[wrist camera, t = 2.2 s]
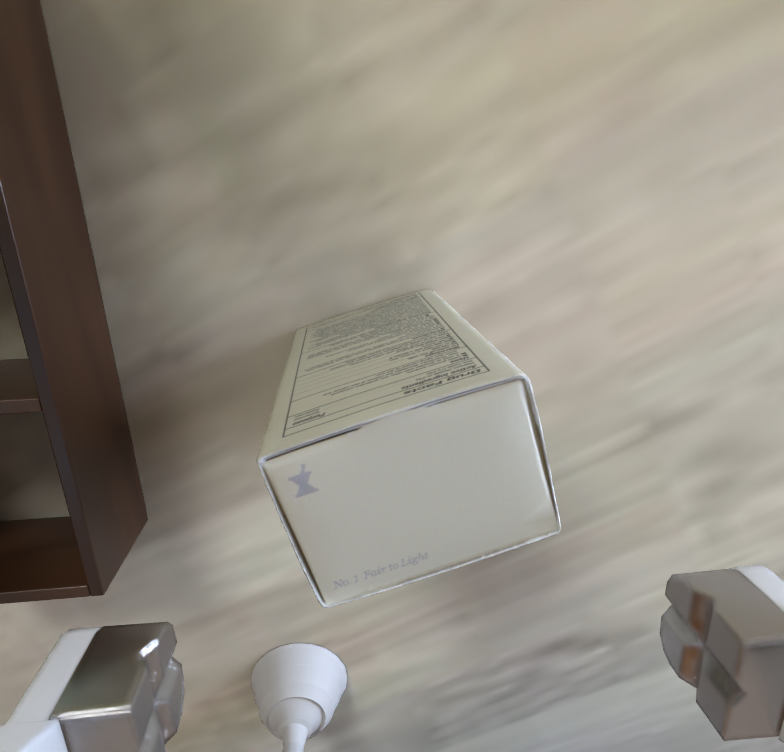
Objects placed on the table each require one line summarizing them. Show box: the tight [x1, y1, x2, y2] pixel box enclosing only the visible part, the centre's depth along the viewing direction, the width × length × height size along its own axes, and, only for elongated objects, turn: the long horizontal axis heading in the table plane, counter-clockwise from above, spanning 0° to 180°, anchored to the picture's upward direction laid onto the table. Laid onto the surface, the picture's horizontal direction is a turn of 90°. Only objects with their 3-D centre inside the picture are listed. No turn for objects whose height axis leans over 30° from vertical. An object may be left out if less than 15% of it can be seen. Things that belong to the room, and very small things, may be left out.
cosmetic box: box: [257, 289, 561, 608], centre depth 18 cm, size 6×4×12 cm
